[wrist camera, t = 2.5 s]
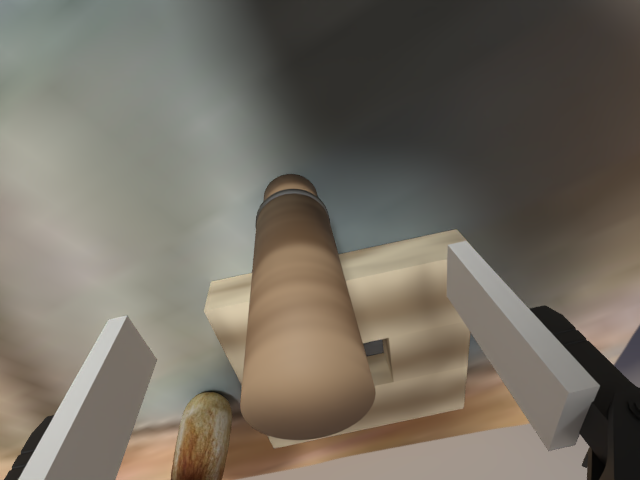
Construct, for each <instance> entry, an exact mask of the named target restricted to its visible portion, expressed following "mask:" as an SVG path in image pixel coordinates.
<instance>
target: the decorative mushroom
mask: <svg viewBox="0 0 640 480" xmlns="http://www.w3.org/2000/svg"><path fill="white" fill-rule="evenodd" d="M231 423H232V412H231V408H230V405H229V402H228V401H227V400H226V398H224V397H223V396H221V395H220V394H217V393H215V392H205V393H201V394H198V395H196V396H195V397H194V398H193V399H192V400H191V401H190V402H189V403H188V405H187V406H186V408H185V410H184V413H183V416H182V419H181V423H180V426H179V431H178V437H177V442H176V447H175V453H174V459H173V466H172V472H171V480H222V476H223V472H224V467H225V462H226V456H227V452H228V446H229V439H230V431H231Z"/></svg>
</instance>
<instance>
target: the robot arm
mask: <svg viewBox="0 0 640 480" xmlns="http://www.w3.org/2000/svg"><path fill="white" fill-rule="evenodd" d="M447 297H448V299H449V300H450V302H451V303H452V305H453V306H454V308H455V309H456V311H457V312H458V314H459V315H460V317H461V319H462V320H463V322H464V323H465V325H466V326H467V328H468V329H469V331H470V332H471V334H472V335H473V337H474V338H475V340H476V341H477V343H478V344H479V346H480V347H481V349H482V351H483V352H484V354H485V355H486V357H487V358H488V360H489V361H490V363H491V364H492V366H493V367H494V369H495V370H496V372H497V373H498V375H499V376H500V378H501V379H502V381H503V383H504V384H505V386H506V387H507V389H508V390H509V392H510V393H511V395H512V396H513V398H514V399H515V401H516V402H517V404H518V405H519V407H520V408H521V410H522V411H523V413H524V414H525V416H526V418H527V419H528V421H529V422H530V424H531V425H532V427H533V428H534V429H535V431H536V433H537V434H538V436H539V437H540V439H541V440H542V442H543V443H544V445H545V446H546V448H547V449H548V451H551V450H555V449H560V448H564V447H569V446H573V445H575V444H576V442H577V439H578V437H579V434H580V435H581V436H582V437H583V438H584V440H585V441H586V442H587V444H588V445H589V446H590V448H589V449H588V452H587V454H586V456H585V458H584V461H583V463H582V466H583V467H586V468H587V466H588V468H587V480H640V388H638V387H636V386H635V385H634V384H632V383H631V382H630V381H629V380H628V379H627V378H626V377H625V376H624V375H623V374H622V373H621V372H620V371H619V370H618V369H617V368H616V367H615V366H614V365H613V364H612V363H611V362H610V361H609V360H608V359H607V358H606V357H605V356H604V355H603V354H601V353H600V352H599V351H598V350H597V349H596V348H595V347H594V346H593V345H592V344H591V343H590V342H589V341H587V340H586V338H585V337H584V336H583V335H582V334H581V333H580V332H579V331H578V330H576V329H575V327H574V326H573V325H572V324H571V323H570V322H569V321H568V320H567V319H566V318H565V317H564V316H563V315H561V314H560V313H558V312H556V311H554V310H552V309H551V308H549V307H547V306H540V307H536V308H531V309H529V308H528V307H527V306H526V305H525V304H524V303H523V302H522V301H521V300H520V298H519V297H518V296H517V295H516V294H515V293H514V292H513V291H512V290H511V289H510V288H509V287H508V285H507V284H506V283H505V282H504V281H503V280H502V279H501V278H500V277H499V276H498V275H497V273H496V272H495V271H494V270H493V269H492V268H491V267H490V266H489V265H488V264H487V263H486V262H485V260H484V259H483V258H482V257H481V256H480V255H479V254H478V253H477V252H476V251H475V250H474V249H473V247H472V246H471V245H470V244H469V243H468V242H467V241H463V242H458V243H454V244H449V245H448V253H447ZM156 362H157V359H156V357H155V356H154V354H153V353H152V351H151V350H150V348H149V347H148V346H147V344H146V343H145V341H144V340H143V338H142V337H141V335H140V334H139V332H138V331H137V329H136V328H135V326H134V325H133V323H132V322H131V320H130V319H129V317H128V316H122V317H118V318H113V319H109V320H108V321H107V323H106V325H105V327H104V328H103V330H102V332H101V334H100V336H99V337H98V339H97V341H96V343H95V344H94V346H93V348H92V350H91V352H90V353H89V355H88V357H87V359H86V360H85V362H84V364H83V366H82V367H81V369H80V371H79V373H78V375H77V376H76V378H75V380H74V382H73V383H72V385H71V387H70V389H69V390H68V392H67V394H66V396H65V398H64V399H63V401H62V403H61V405H60V406H59V408H58V410H57V412H56V414H55V415H53V416H48V417H46V418H45V419H44V421H43V422H42V423H41V424H40V425H39V426H38V427H37V428H36V429H35V430H34V432H33V433H32V434H31V435H30V437H29V439H28V440H27V442H26V444H25V445H24V447H23V449H22V450H21V455H19V456H18V457H17V459H16V461H15V462H14V464H13V466H12V470H11V471H9V472H8V474H7V476H6V477H5V479H4V480H115V479H116V476H117V474H118V471H119V468H120V465H121V462H122V459H123V456H124V453H125V451H126V448H127V445H128V442H129V439H130V436H131V433H132V430H133V428H134V425H135V422H136V419H137V416H138V413H139V410H140V407H141V405H142V402H143V399H144V396H145V393H146V390H147V387H148V384H149V382H150V379H151V376H152V373H153V370H154V367H155V364H156Z"/></svg>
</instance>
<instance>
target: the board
mask: <svg viewBox="0 0 640 480" xmlns="http://www.w3.org/2000/svg"><path fill="white" fill-rule="evenodd" d="M463 241H467V240H466V239H465V238H464V237H463V236H462V235H461V233H460V232H459V231H458V230H457V229H454V230H450V231H445V232H440V233H436V234H431V235H426V236H422V237H417V238H412V239H408V240H403V241H398V242H394V243H389V244H384V245H380V246H375V247H370V248H366V249H361V250H356V251H352V252H347V253H342V254H338V255H339V259H340V262H341V266H342V269H343V273H344V277H345V280H346V284H347V288H348V291H349V295H350V299H351V302H352V306H353V310H354V313H355V317H356V320H357V324H358V328H359V331H360V335H361V339H362V342H363V343H367V342H371V341H376V340H381V339H382V341H383V349H384V353H381V354H376V355H372V356H367V360H368V364H369V368H370V371H371V375H372V379H373V382H374V386H375V392H376V395H375V400H374V403H373V405H372V407H371V409H370V410H369V411H368V413H367V414H366V415H365V416H364V417H363V418H362V419H361V420H359V421H358V422H357V423H356V424H354V425H352V426H351V427H349V428H347V429H345V430H343V431H341V432H338V433H336V434H333V435H330V436H326V437H331V436H336V435H341V434H345V433H350V432H355V431H359V430H364V429H369V428H374V427H378V426H383V425H388V424H392V423H397V422H402V421H407V420H411V419H416V418H421V417H425V416H430V415H435V414H439V413H444V412H449V411H454V410H458V409H463V408H464V400H465V389H466V377H467V366H468V354H469V343H470V331H469V329H468V328H467V326H466V325H465V323H464V322H463V320H462V319H461V317H460V315H459V314H458V312H457V311H456V309H455V308H454V306H453V305H452V303H451V302H450V300H449V299H448V297H447V253H448V245H449V244H454V243H458V242H463ZM467 242H468V241H467ZM468 243H469V242H468ZM473 249H474V248H473ZM474 250H475V249H474ZM475 251H476V250H475ZM251 280H252V273H249V274H244V275H240V276H235V277H230V278H226V279H221V280H216V281H212V282H211V284H210V288H209V292H208V296H207V300H206V304H205V308H204V312H205V314H206V316H207V318H208V320H209V322H210V324H211V326H212V328H213V330H214V332H215V334H216V336H217V338H218V340H219V342H220V344H221V346H222V348H223V350H224V352H225V354H226V356H227V358H228V359H229V361H230V363H231V365H232V367H233V369H234V371H235V373H236V375H237V377H238V379H239V381H240V383H241V385H242V379H243V368H244V357H245V346H246V335H247V324H248V313H249V302H250V291H251ZM267 436H268V435H267ZM326 437H322V438H326ZM268 438H269V440H270V442H271V444H272V446H273V448H274V449H275V448H279V447H284V446H289V445H294V444H298V443H303V442H308V441H312V440H317V439H322V438H316V439H309V440H287V439H280V438H275V437H271V436H268Z"/></svg>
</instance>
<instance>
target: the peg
mask: <svg viewBox="0 0 640 480" xmlns="http://www.w3.org/2000/svg"><path fill="white" fill-rule="evenodd" d="M375 395H376V392H375V386H374V382H373V379H372V375H371V371H370V368H369V364H368V360H367V357H366V353H365V350H364V346H363V342H362V339H361V335H360V331H359V328H358V324H357V320H356V317H355V313H354V310H353V306H352V302H351V299H350V295H349V291H348V288H347V284H346V280H345V277H344V273H343V269H342V266H341V262H340V259H339V255H338V251H337V248H336V244H335V240H334V237H333V233H332V229H331V226H330V219H329V215H328V211H327V209H326V207H325V205H324V203H323V202H322V201H321V200H320V199H319V198H318V196H317V193H316V190H315V187H314V186H313V184H312V183H311V182H310V181H309V180H307V179H306V178H304V177H302V176H300V175H295V174H286V175H282V176H279V177H277V178H276V179H274V180H273V181H272V182H271V183H270V184H269V185H268V186H267V188H266V190H265V193H264V202H263V203H262V204H261V206H260V208H259V210H258V212H257V216H256V236H255V247H254V258H253V269H252V280H251V291H250V302H249V313H248V324H247V335H246V346H245V357H244V368H243V379H242V390H241V401H240V409H241V413H242V415H243V418H244V419H245V420H246V422H247V423H248V424H249V425H250V426H251V427H253V428H254V429H255V430H257V431H259V432H261V433H263V434H265V435H268V436H271V437H275V438H280V439H287V440H309V439H316V438H322V437H326V436H330V435H333V434H336V433H338V432H341V431H343V430H345V429H347V428H349V427H351V426H352V425H354V424H356V423H357V422H358V421H359V420H361V419H362V418H363V417H364V416H365V415H366V414H367V413H368V411H369V410H370V409H371V407H372V405H373V403H374V400H375Z"/></svg>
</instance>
